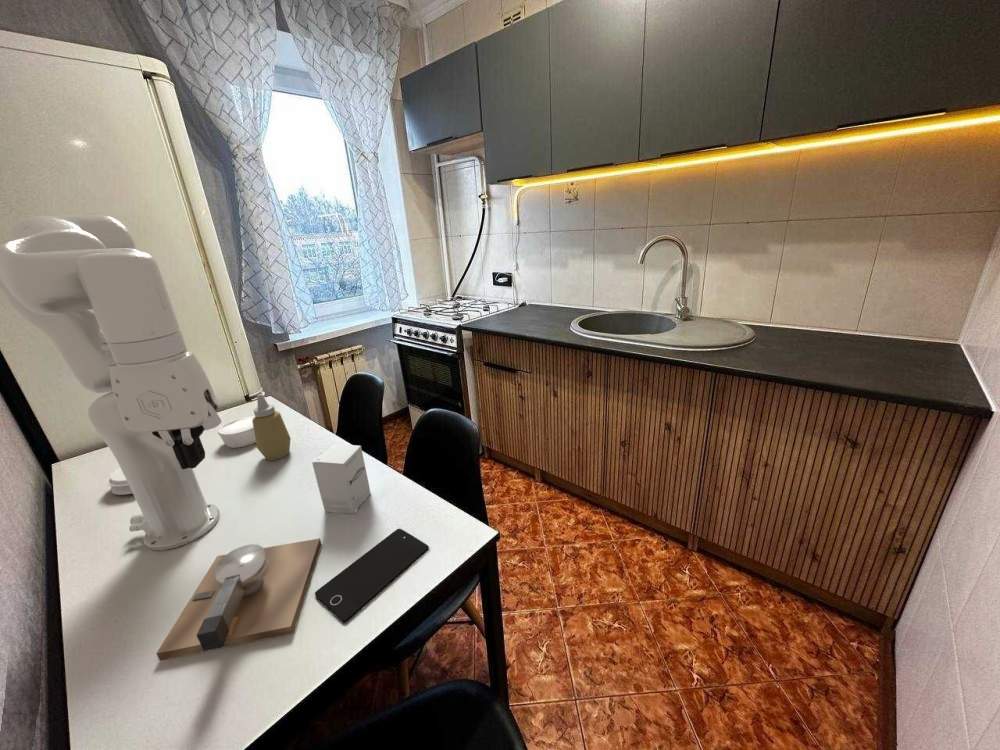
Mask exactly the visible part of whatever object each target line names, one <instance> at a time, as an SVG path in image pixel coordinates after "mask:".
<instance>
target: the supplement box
mask: <svg viewBox="0 0 1000 750" xmlns="http://www.w3.org/2000/svg"><path fill="white" fill-rule="evenodd" d="M311 464H312V468H313V471H314V475H315V479H316V484H317V486H318V490H319V494H320V499H321V502H322V505H323V510H324V512H331V513H338V514H339V513H341V514H347V515H348V514H350V515H355V513H356V512H357V510H358V509H359V508H360V506H361V505H362V504H363V502H364V501H365V500H366V498H368V496H369V495H370V494H371V488H370V485H369V484H370V483H369V479H368V474H367V469H366V463H365V459H364V454H363V450H362V446H361V445H355V444H354V445H353V444H352V445H351V444H333V443H332V444H331V445H330V446H328V447H327V448H326V449H325V450H324V451H323V452H322V453H320V455H318V456H317V457H316V458H315V459H314V460H313V461H312V462H311Z"/></svg>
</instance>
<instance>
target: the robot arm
mask: <svg viewBox="0 0 1000 750" xmlns="http://www.w3.org/2000/svg"><path fill="white" fill-rule="evenodd" d="M9 238H10V239H9V240H10V241H5V242H4V243H2V244H1V245H0V291H1V293H2V294H3V296H4V297H5V299H6V301H8V303H9V304H10V305H11V306H12V307H13V309H14V310H16V311H17V313H18V314H20V315H21V316H22V317H23V318H24V319H25V320H26V321H28V322H29V323H30V324H31V325H33V326H34V327H36V328H37V329H39V330H40V331H41V332H42V333H43V334H45V335H46V336H47V337H48V338H49V339H50V340H51V341H52V342H53V343H54V345H55V347H56V348H57V350H58V351H59V353H60V355H61V356H62V358H63V360H64V361H65V362H66V365H67V367H69V369H70V371H71V372H72V373H73V376H74V377H75V378H76V380H77V381H78V382H79V383H80V385H81V386H82V387H83V388H84V389H86V390H87V391H89V392H91V393H94V394H103V395H101V396H100V397H97V398H96V399H95V400H94V401H93V402H91V403H90V405H89V407H88V409H87V415H88V416H87V417H88V419H89V421H90V423H91V425H92V428H94V429H95V431H96V432H97V433H98V435H99V437H101V439H102V440H103V441H104V442H105V444H106V446H107V447H108V448H109V450H110V451H111V453H112V454H113V457H114V458H115V460H116V462H117V464H118V465H119V468H121V470H122V472H123V474H124V476H125V478H126V480H127V482H128V484H129V486H130V488H131V490H132V492H133V493H132V494H133V496H134V498H135V500H136V503H137V505H138V507H139V509H140V512H141V513H142V514H138V515H137V514H136V515H132V516H131V517H130V520H129V523H130V526H129V532H138V531H144V537H143V543H144V545H145V547H146V548H147V549H149V550H152V551H167V550H171V549H175V548H179V547H181V546H184V545H186V544H188V543H191V542H193V541H195V540H197V539H198V538H200V537H201V536H203V535H205V534H206V533H207V532H208V531H210V530H211V529H212V528H214V526H215V525H216V524H217V522H218V521H219V519H220V516H221V513H220V509H219V508H218V506H216V504H213V503H207V502H206V500H205V497H204V494H203V492H202V489H201V487H200V485H199V481H198V480H197V477H196V475H195V471H194V469H195V468H197V467H198V466H199V465H200V463H201V462H203V461H204V459H206V451H205V449H204V446H203V443H202V441H201V438H200V437H201V436H202V435H203V433H204V432H205V431H208V430H212V429H215V428H217V427H218V426H219V425H221V423H222V419H221V417H220V416H219V414H218V413H217V412H218V411H219V406H218V405H219V404H218V402H217V401H218V400H217V398H216V395H215V393H214V389H213V387H212V385H211V383H210V381H209V380H210V379H209V378H208V376H207V374H206V372H205V370H204V368H203V367H202V364H201V363H200V362H199V360H198V358H197V356H196V355H195V354H194V353H193V351H188V348H187V345H186V343H185V340H184V336H183V333H182V331H181V328H180V326H179V322H178V320H177V319H178V318H177V316H176V314H175V311H174V307H173V305H172V302H171V299H170V297H169V294H168V290H167V287H166V285H165V282H164V279H163V276H162V274H161V269H160V268H159V266H158V265H159V264H158V263H157V261H156V259H155V258H154V256H152V255H151V254H149V253H147V252H144V251H140V250H137V246H136V242H135V240H134V238H133V236H132V234H131V232H130V231H129V230H128V228H127V227H126V226H125V225H124V224H122V223H121V221H119V220H117V219H115V218H114V217H111V216H107V215H102V214H101V215H100V214H97V215H95V214H92V215H87V214H86V215H85V214H84V215H82V214H81V215H79V214H78V215H77V214H75V215H37V216H31V217H26V218H24V219H21V220H19V221H17V222H16V223H15V224H14V225H13V226H12V228H11V230H10V234H9ZM91 310H92V311H91Z"/></svg>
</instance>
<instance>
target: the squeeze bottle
mask: <svg viewBox="0 0 1000 750" xmlns="http://www.w3.org/2000/svg"><path fill="white" fill-rule="evenodd" d="M256 398H257V401H256V403H257V406H256V407H254V409H253V413H254V416H253V417H254V418H253V420H252V422H253V427H254V433H255V438H256V442H255V443H256V448H257V450H258V451H259V452H260V453H261V455H262V456H263V457H264V458H265V460H266V461H267V460H268V461H277V460H280V459H283V458H284V457H286V456H288V454H289V453H290V450H291V438H292V437H291V435H290V433H289V432H288V429H287V427H286V424H285V421H284V419H283V416H282V415H281V413H280V412H279V411H277V410H276V409H275V405H274V404H272V403H268V401H267V400H266V399H265V396H264V395H263V394H261V393H260V394H257V396H256Z"/></svg>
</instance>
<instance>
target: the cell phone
mask: <svg viewBox="0 0 1000 750" xmlns="http://www.w3.org/2000/svg"><path fill="white" fill-rule="evenodd" d="M429 550H430V546H429V545H428V544H426V543H425V542H423V541H422V540H420V539H418V538H417V537H415V536H414V535H412V534H410V533H408V532H407V531H405V530H404V529H402V528H397V529H395V530H394V531H393V532H391V533H390V534H389V535H388V536H387V535H386V537H385V538H384V539H382V540H381V541H380V542H378V543H376V545H374V546H373V547H372V548H370V549H369V550H367V551H366V552H365V553H364V554H362V555H361V556H360V557H359V558H357V559H356V560H355V561H353V562H352V563H351V564H349V565H348V566H347V567H345V568H344V569H343V570H342V571H341V572H338V574H336V575H335V576H334V577H332V578H331V579H330V580H329V581H327V582H326V583H325V584H323V585H322V586H320V587H319V588H318V589H317V590H316V591H315V592H314V595H315V598H316V599H317V600H318V601H319V602H320V603H321V604H322V605H323V606H324V607H325V608H326V609H328V611H330V612H331V613H332V614H333V615H334V616H335V617H336V618H337V619H338V620H339V621H340V622H341V623H343V624H346V623H348V622H349V621H350V620H351V619H352V618H354V617H355V616H356V615H357V614H359V612H360V611H362V610H363V609H364V608H365V607H366V606H367V605H368V604H370V603H371V602H372V601H373V600H374V599H375V598H376V597H377V596H379V594H381V592H383V591H384V590H385V589H386V588H387V587H389V586H390V585H391V584H392V583H393V582H394V581H396V580H397V579H398V578H399V577H400V576H401V575H403V573H405V572H406V571H407V570H408V569H410V567H411V566H412V565H413V564H415V563H416V562H417V561H418V560H419V559H421V557H422V556H423V555H425V554H426V553H427V552H428V551H429Z"/></svg>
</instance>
